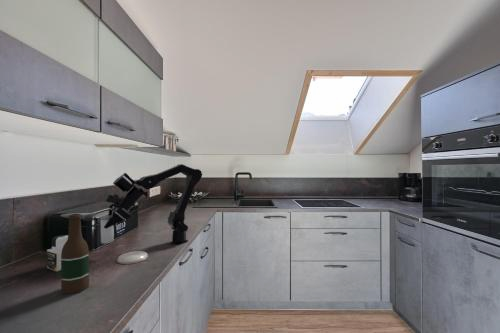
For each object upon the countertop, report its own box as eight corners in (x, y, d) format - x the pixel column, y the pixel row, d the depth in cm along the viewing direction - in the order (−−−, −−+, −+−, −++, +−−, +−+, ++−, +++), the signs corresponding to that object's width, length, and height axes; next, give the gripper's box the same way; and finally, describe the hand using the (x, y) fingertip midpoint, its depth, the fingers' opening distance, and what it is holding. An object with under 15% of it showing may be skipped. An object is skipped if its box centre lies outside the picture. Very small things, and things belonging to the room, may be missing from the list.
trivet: (135, 251, 114) (135, 249, 114) (154, 256, 109) (154, 253, 109) (110, 261, 103) (110, 258, 103) (130, 266, 98) (130, 263, 98)
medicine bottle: (46, 268, 96) (46, 237, 96) (67, 261, 103) (66, 232, 103) (56, 271, 93) (55, 239, 93) (76, 265, 99) (76, 235, 99)
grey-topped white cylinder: (109, 239, 111) (108, 214, 111) (116, 240, 109) (115, 215, 108) (98, 242, 106) (98, 216, 106) (105, 243, 104) (105, 217, 104)
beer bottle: (67, 297, 75) (66, 218, 74) (55, 291, 79) (55, 215, 79) (94, 287, 81) (94, 213, 81) (82, 281, 85) (82, 211, 85)
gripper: (112, 185, 117) (84, 212, 110) (121, 188, 103) (90, 219, 96) (130, 200, 122) (105, 226, 115) (142, 205, 108) (114, 235, 101)
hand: (103, 226), depth 106 cm, fingers closed on grey-topped white cylinder, 5 cm apart
